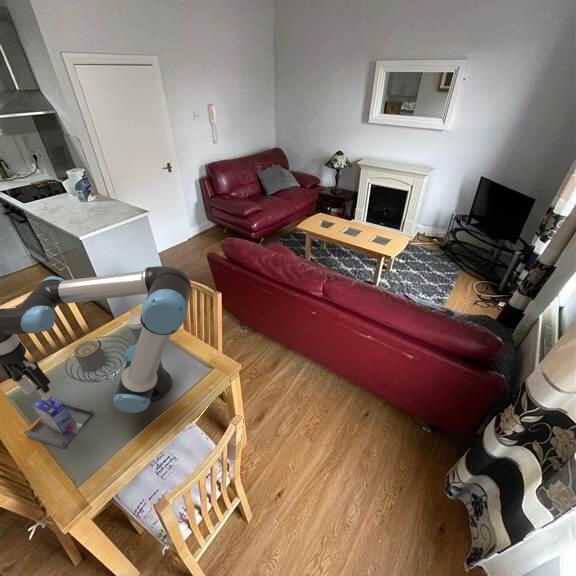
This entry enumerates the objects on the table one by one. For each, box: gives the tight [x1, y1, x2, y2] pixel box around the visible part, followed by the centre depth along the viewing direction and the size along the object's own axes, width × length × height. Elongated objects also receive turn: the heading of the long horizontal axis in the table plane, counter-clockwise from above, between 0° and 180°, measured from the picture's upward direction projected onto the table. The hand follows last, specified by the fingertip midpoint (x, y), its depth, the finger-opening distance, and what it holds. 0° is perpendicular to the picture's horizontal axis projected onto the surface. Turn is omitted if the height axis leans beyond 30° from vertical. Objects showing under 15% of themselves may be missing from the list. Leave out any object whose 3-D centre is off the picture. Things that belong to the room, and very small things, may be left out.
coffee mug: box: [72, 338, 107, 373], centre depth 138 cm, size 13×10×10 cm
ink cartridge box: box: [31, 396, 76, 434], centre depth 110 cm, size 10×6×14 cm, turn 67°
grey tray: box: [23, 399, 95, 449], centre depth 114 cm, size 16×14×3 cm
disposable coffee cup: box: [126, 312, 143, 343], centre depth 147 cm, size 11×11×15 cm
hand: (39, 394), depth 104 cm, fingers open, 7 cm apart
